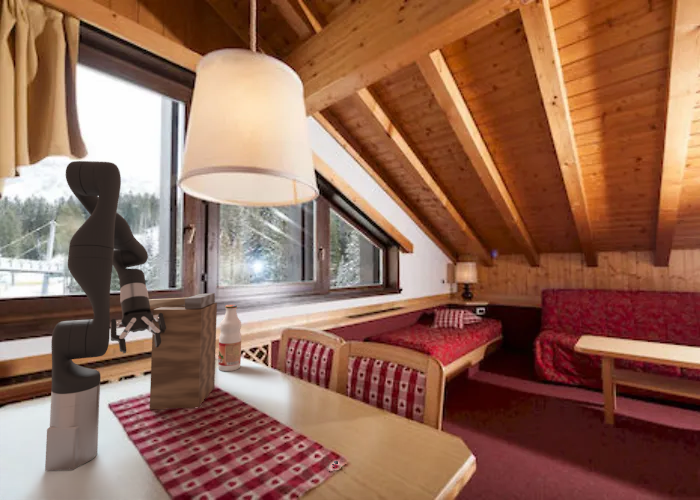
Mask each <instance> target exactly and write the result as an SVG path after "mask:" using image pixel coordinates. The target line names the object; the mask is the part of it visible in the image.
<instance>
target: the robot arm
mask: <svg viewBox="0 0 700 500" xmlns="http://www.w3.org/2000/svg"><path fill="white" fill-rule="evenodd" d="M121 178H122V177H121V172H120V169H119V167H118V166H117V164H115V163H113V162H110V161H100V160H99V161H97V160H96V161H93V160H92V161H91V160H89V161H88V160H86V161H85V160H76V161H71V162H69V163H68V165H67V166H66V168H65V180H66V183H67V185H68V187H69V188H70V191H71V192H72V194H73V195H74V196H75V197H76V198H77V200H78V201H79V202H80V203H81V205H82V206H83V208H85V210H86V211H87V212H88V213H89V216H88V218H87V219H86V220H85V221H84V222H83V224H82V225H80V227H79V228H78V229H77V231H76V232H75V233H74V234H73V236H72V237H71V239H70V241H69V247H68V257H67V268H68V271H69V273H70V275H71V276H72V277H73V279H74V280H75V281H76V283H77V284H78V285H79V287H80V288H81V289H82V291H83V293H84V294H85V295H86V297H87V298H88V301H89V303H90V304H91V305H90V306H91V308H92V311H93V319H76V320H73V319H72V320H62V321H60V322H59V321H58V323H56V324H55V326H54V328H53V330H52V334H51V393H50V394H51V395H50V411H49V413H50V414H49V427H48V428H47V429H46V442H45V446H46V447H45V464H44V465H45V466H44V470H45V472H46V471H48V472H49V471H67V470H68V471H69V470H75V469H76V468H78V467H80V466H82V465H84V464H86V463H89V462H90V461H91V460H93V459H94V458H96V457H97V455H98V446H99V423H100V421H99V418H100V395H101V372H100V371H99V370H97V369H95V368H94V369H93V368H89V367H85V366H82V365H78V364H77V363H75V362H74V361H73V360H79V359H90V358H99V357H102V356H104V355H105V354H106V353H107V351H108V349H109V348H108V347H109V344H110V341H112V342H118V345H119V346H118V347H119V352H120V353H122V354H126V353H127V344H126V342H127V341H126V337H127V336H128V335H129V333H131V332H132V333H136V332H143V331H145V330H147V332H149V333H153V334H154V335H155V336H154V340H155V346H156V347H159V345H160V344H161V336H160V334H161V333H164V332H165V330H166V325H165V321H164V316H163V313H159V314H158V315H153V313H152V311H151V307H150V303H149V299H150V296H149V292H148V288H147V284H146V283H147V282H146V278H145V277H146V276H145V273H144V271H143V270H141V269H139V268H134V267H137V266H141V265H144V264H145V263H147V262H148V259H149V254H148V251H147V249H146V248H145V247H144V246H143V244H141V242H140V241H138V239H137V238H136V237H135V236H134V233H133V231H132V229H131V227H130V225H129V223H128V221H127V220H126V219H125V218H124V217H123V216H122V215H121V214H120V213H119V212H117V210H118V205H119V199H120V194H121V193H120V192H121V187H122V186H121V184H122V183H121V182H122V181H121V180H122V179H121ZM132 267H133V268H132ZM113 268H114V269H115V272H116V274H117V276H118V281H119V289H120V292H119V294H120V297H119V298H120V300H119V301H120V307H121V315H122V318H121V319H116V318H112V319H111V320H110V315H111V314H110V310H111V307H110V304H111V301H110V300H111V299H110V297H111V284H112V275H113V274H112V273H113ZM153 319H155V320H156V321H157V322H158V323H159V327H160V329H158V328H157V327H156V326H155V325H154V324H153ZM120 325H122V326H123V327H124V329H123V330H122V332H121V334H117V328H119V327H120Z"/></svg>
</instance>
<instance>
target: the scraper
mask: <svg viewBox="0 0 700 500" xmlns="http://www.w3.org/2000/svg"><path fill="white" fill-rule="evenodd" d="M215 295H216V294H215V293H214V292H210V293H199V294H196V295H192V296H189V297H172V298H171V297H170V298H152V299H151V298H149V303H150V308H154V307H156V308H160V307H163V306H179V305H185V309H198V308H203V307H205V306H208V305H210V304H212V303H216V300H215V299H216V296H215Z"/></svg>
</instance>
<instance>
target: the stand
mask: <svg viewBox="0 0 700 500" xmlns="http://www.w3.org/2000/svg"><path fill="white" fill-rule="evenodd" d="M152 310H153V311H152V315H158V314H159V313H163V316H164V321H165V325H166V330H165V332H164V333H161V334H160V336H161V344H160V345H159V347H156V346H155V340H154V336H155V335H154V334H153V333H152V338H151V365H150V394H149V410H167V409H166V408H183V409H196V408H195V407H199V408H200V407H201V405H202V404H203V403H202V402H204V401H205V400H206V399H207V398H208V396H209V395H210V394H211V393H212V392H213V390H214V388H215V381H216V380H215V379H216V378H215V376H216V375H215V374H216V347H217V345H216V343H217V317H218V315H217V314H218V313H217V312H218V303H217V302H215V303H212V304H210V305H208V306H205V307H203V308H198V309H185V305H179V306H159V307H156V308H154V309H152ZM152 323H153V324H154V325H155V326H156V327H157V328H158V329H160V327H159V323H158V322H157V321H156V320H155V319H153V320H152ZM209 393H210V394H209ZM205 398H206V399H205ZM204 399H205V400H204ZM201 403H202V404H201ZM200 404H201V405H200Z"/></svg>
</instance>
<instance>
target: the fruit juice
mask: <svg viewBox="0 0 700 500" xmlns="http://www.w3.org/2000/svg"><path fill="white" fill-rule="evenodd" d="M224 307H225V314H224V317H223V319H222V320H221V321H220V323H219V330H220V333H219V337H218V357H217V358H218V363H217V366H218V367H217V368H218V370H219V371H222V372H231V371H232V372H233V371H236V370H238V369H240V368H241V359H242V333H241V328H242V322H241V320H240V318H239V317H238V314H237V310H238V305H237V304H226V305H225V306H224Z"/></svg>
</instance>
